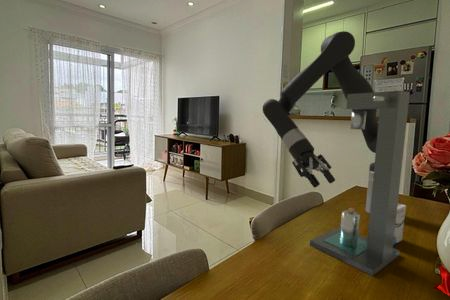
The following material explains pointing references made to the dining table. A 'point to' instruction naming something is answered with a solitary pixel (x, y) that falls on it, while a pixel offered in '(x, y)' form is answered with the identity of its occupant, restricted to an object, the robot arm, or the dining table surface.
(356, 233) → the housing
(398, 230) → the ink box
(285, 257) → the dining table surface
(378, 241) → the press
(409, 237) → the dining table surface
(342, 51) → the robot arm
